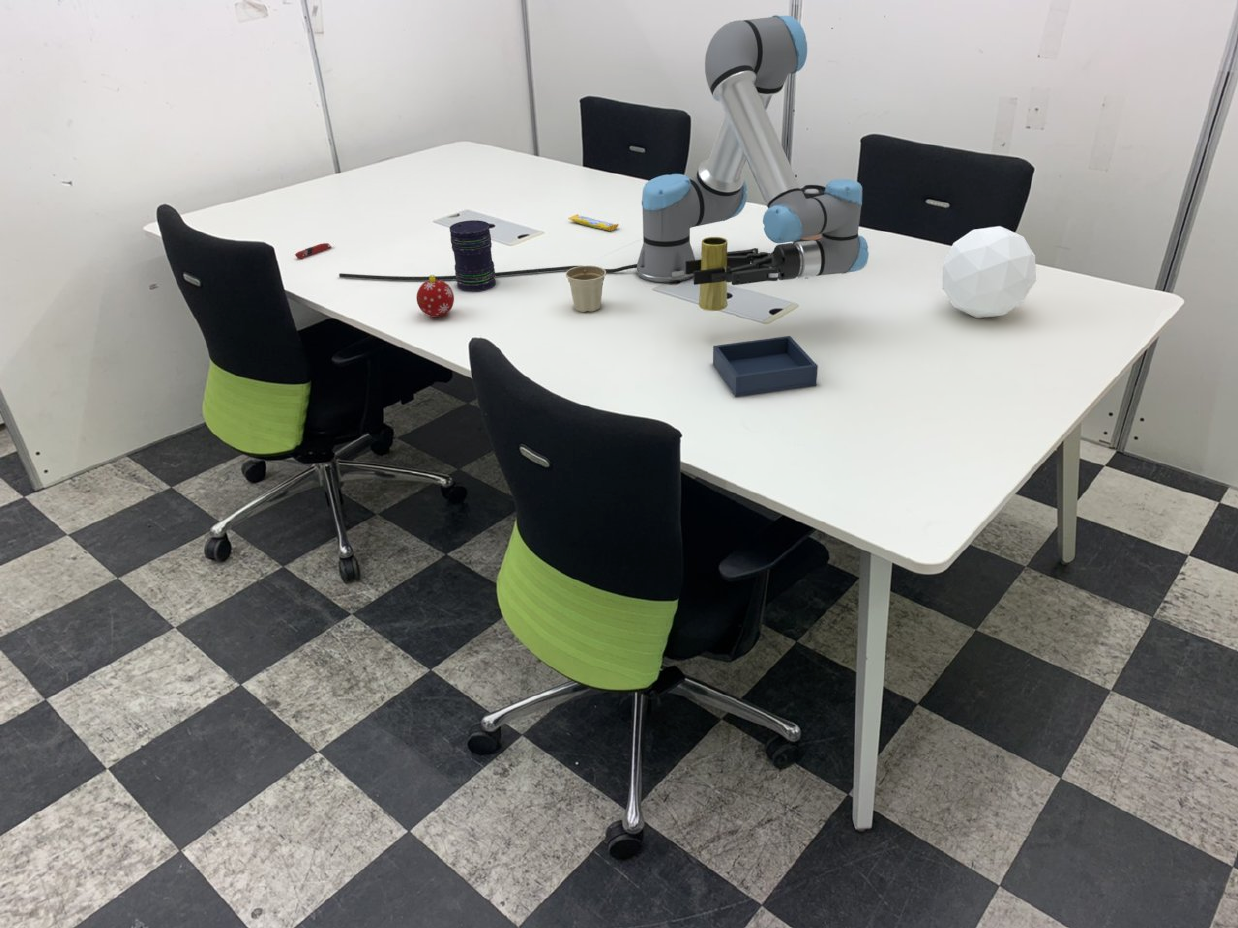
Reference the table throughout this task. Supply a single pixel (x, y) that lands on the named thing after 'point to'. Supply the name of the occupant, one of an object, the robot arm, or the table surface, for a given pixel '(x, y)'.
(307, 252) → the utility knife
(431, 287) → the christmas ornament
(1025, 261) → the geometric polyhedron
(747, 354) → the tray
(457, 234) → the storage jar
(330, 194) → the table surface
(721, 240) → the vase
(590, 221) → the candy bar
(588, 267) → the flower pot
